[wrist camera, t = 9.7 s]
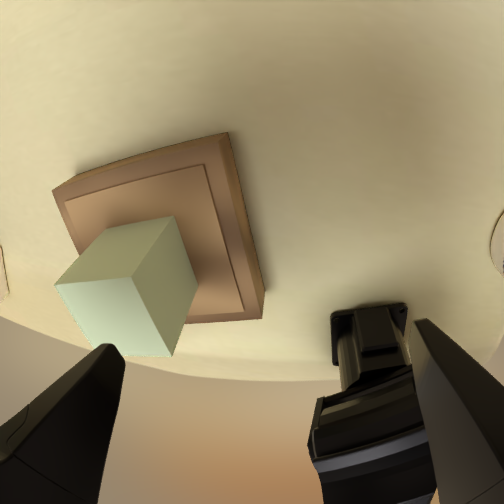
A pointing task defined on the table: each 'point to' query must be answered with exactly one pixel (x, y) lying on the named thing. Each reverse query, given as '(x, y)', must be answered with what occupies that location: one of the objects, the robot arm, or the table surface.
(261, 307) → the walnut base
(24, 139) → the table surface
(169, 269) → the sage block
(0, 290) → the medicine bottle
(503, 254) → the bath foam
